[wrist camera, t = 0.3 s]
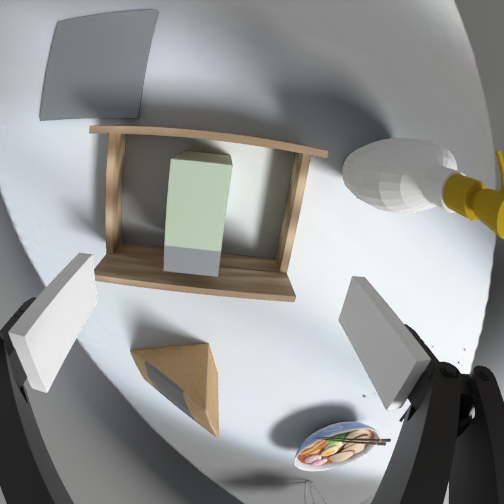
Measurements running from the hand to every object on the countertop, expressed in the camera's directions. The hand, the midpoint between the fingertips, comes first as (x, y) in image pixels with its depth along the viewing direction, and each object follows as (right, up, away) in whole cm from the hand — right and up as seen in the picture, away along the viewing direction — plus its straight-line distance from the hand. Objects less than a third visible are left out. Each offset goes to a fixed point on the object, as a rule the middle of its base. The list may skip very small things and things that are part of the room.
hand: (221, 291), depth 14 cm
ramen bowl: (+22, -45, +52) cm, 72 cm away
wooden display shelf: (-5, +9, +25) cm, 28 cm away
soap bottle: (+19, +15, +25) cm, 35 cm away
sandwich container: (-13, -18, +37) cm, 44 cm away
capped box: (-5, +9, +25) cm, 28 cm away
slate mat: (-20, +28, +16) cm, 38 cm away
